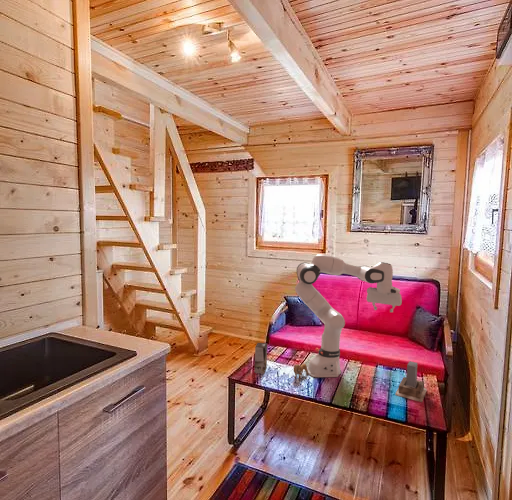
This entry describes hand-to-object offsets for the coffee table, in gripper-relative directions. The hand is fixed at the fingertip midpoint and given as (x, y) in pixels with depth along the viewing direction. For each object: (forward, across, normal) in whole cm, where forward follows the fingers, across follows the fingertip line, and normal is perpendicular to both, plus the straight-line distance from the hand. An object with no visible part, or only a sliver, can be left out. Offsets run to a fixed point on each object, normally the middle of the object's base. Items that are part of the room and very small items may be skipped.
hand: (383, 310), depth 202 cm
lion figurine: (+39, -37, -35) cm, 65 cm away
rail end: (+38, +20, -16) cm, 46 cm away
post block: (+39, +20, -16) cm, 47 cm away
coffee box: (+39, -62, -42) cm, 84 cm away
